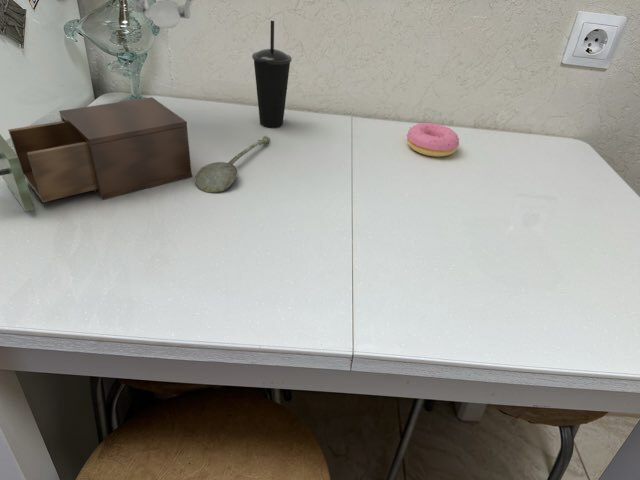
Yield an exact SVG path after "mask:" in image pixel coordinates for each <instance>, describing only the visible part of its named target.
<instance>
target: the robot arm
mask: <svg viewBox="0 0 640 480" xmlns="http://www.w3.org/2000/svg"><path fill="white" fill-rule="evenodd" d="M131 1H132V5H133V11H134V12H135V13H144V12H145V10H146V9H147V7H146V0H131ZM193 2H194V0H185V3H184V4H181V5H180V6H179V12H180V13H179V15H180V19H190V18H191V6H192V5H193Z"/></svg>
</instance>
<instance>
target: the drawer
mask: <svg viewBox="0 0 640 480" xmlns="http://www.w3.org/2000/svg"><path fill="white" fill-rule="evenodd" d="M7 131H8V133H9V136H10V137H9V138H10V140H11V143H12V147H13V149H14V150H13V149H12V148H11V146H10V145H9V143H8V142H7V141H6V140H5V138H4V137H3V136H2V134H0V176H1V178H2V180H3V181H4V183H5V184H6V185H7V187H8V188H9V190H10V191H11V192H12V194H13V195H14V197H15V199H17V201H18V203H19V204H20V206H21V207H22V208H23V210H24V211H25V212H28V211H32V210H35V209H36V208H35V204H34V202H33V199H32V195H31V192H30V189H29V186H28V184H29V185H30V187H31V188H32V190H33V191H34V192H35V194H36V195H37V197H39V199H40V200H41V202H42V203H47V202H49V201H54V200H59V199H62V198H63V199H64V198H67V197H71V196H74V195H79V194H83V193H87V192H91V191H94V190H96V189H98V185H97V180H96V176H95V171H94V167H93V162H92V158H91V154H90V149H89V145H88V142H87V141H86V140H85V139H84V138H83V137H82V136H81V135H80V134H79V133H78V132H77V131H76V130H75V129H73V128H72V127H71V126H70V125H69V124H68V123H67V122H66V121H61V120H60V121H53V122H47V123H42V124H35V125H29V126H22V127H17V128H16V127H15V128H9V129H8V130H7Z"/></svg>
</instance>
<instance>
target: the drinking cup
mask: <svg viewBox="0 0 640 480" xmlns="http://www.w3.org/2000/svg"><path fill="white" fill-rule="evenodd" d="M269 42H270V43H269V45H270V46H269V48H265V49H261V50H258V51H256V52H253V53H252V54H251V58H252V60H253V65H254V66H253V67H254V77H255V86H256V96H257V107H258V108H257V109H258V116H259V117H258V118H259V124H260V125H261V126H262V127H265V128H271V129H275V128H280V127H282V126H283V125H284V118H285V110H286V109H285V108H286V101H287V92H288V85H289V84H288V83H289V82H288V81H289V77H290V75H289V74H290V67H291V66H290V65H291V63H292V60H293V58H292V56H291V55H289V54H287V53H286V52H284V51H282V50H280V49H275V20H270V41H269Z"/></svg>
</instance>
